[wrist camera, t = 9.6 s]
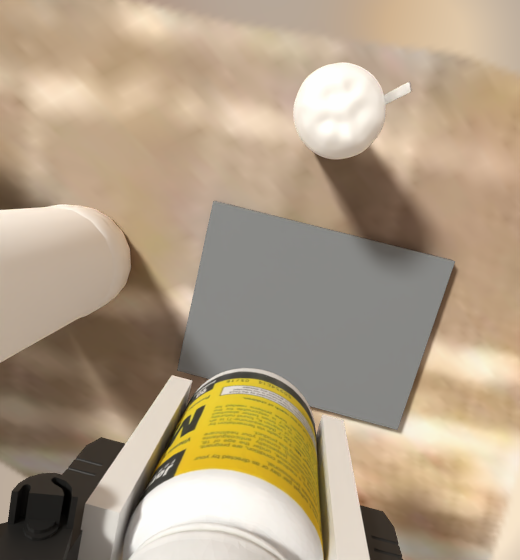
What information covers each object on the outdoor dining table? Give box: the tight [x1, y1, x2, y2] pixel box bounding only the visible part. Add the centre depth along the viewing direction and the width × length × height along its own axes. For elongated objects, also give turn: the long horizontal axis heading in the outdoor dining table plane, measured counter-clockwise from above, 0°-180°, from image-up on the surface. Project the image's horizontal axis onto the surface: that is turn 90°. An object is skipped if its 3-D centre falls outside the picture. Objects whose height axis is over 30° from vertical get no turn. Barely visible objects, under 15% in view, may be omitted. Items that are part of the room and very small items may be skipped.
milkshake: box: [293, 63, 412, 159], centre depth 25 cm, size 5×5×10 cm
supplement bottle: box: [123, 368, 324, 560], centre depth 12 cm, size 5×5×8 cm
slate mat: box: [177, 201, 455, 430], centre depth 32 cm, size 17×13×1 cm
